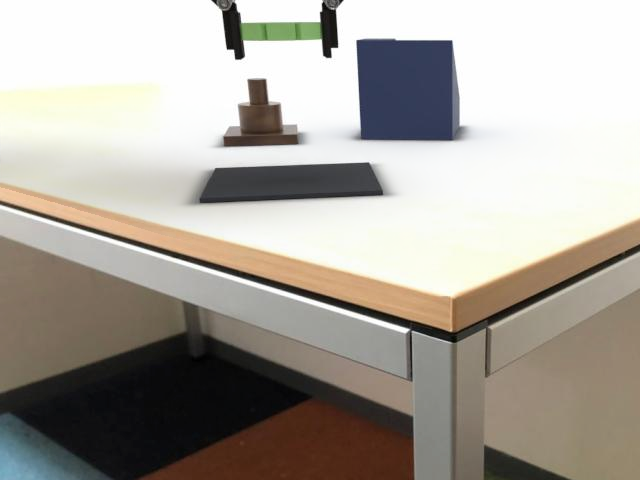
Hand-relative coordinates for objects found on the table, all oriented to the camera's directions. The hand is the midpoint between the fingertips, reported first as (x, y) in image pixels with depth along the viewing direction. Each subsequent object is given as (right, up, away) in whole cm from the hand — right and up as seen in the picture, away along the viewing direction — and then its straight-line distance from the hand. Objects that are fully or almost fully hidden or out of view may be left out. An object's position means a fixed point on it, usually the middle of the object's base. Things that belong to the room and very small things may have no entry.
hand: (284, 56), depth 68 cm
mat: (0, -10, +5) cm, 12 cm away
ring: (0, +1, -1) cm, 1 cm away
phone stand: (+10, +2, +34) cm, 36 cm away
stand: (-9, 0, +29) cm, 31 cm away
